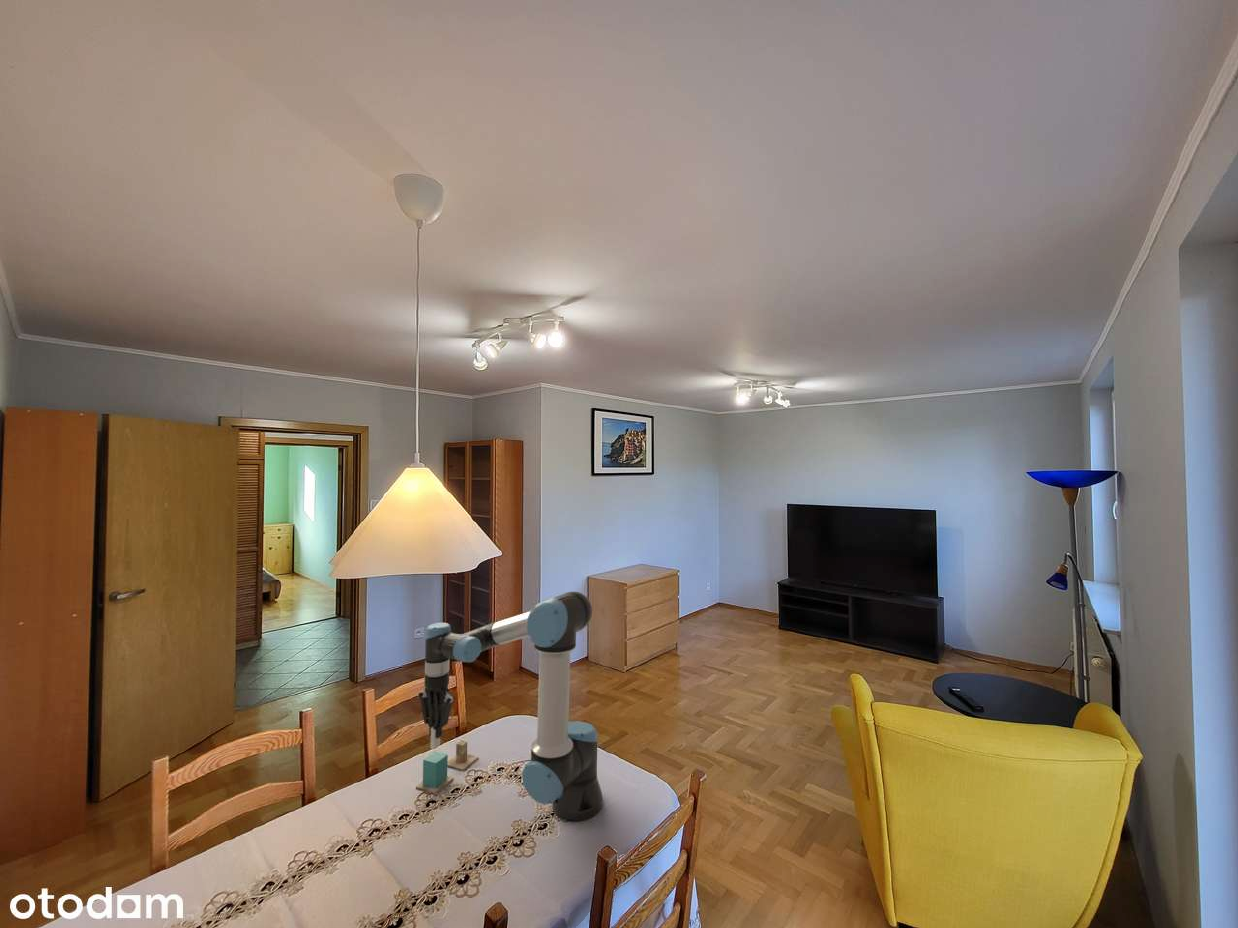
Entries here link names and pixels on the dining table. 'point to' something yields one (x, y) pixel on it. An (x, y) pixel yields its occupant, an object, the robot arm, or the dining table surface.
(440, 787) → the post
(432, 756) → the teal rectangular block
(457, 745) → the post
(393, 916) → the dining table surface
